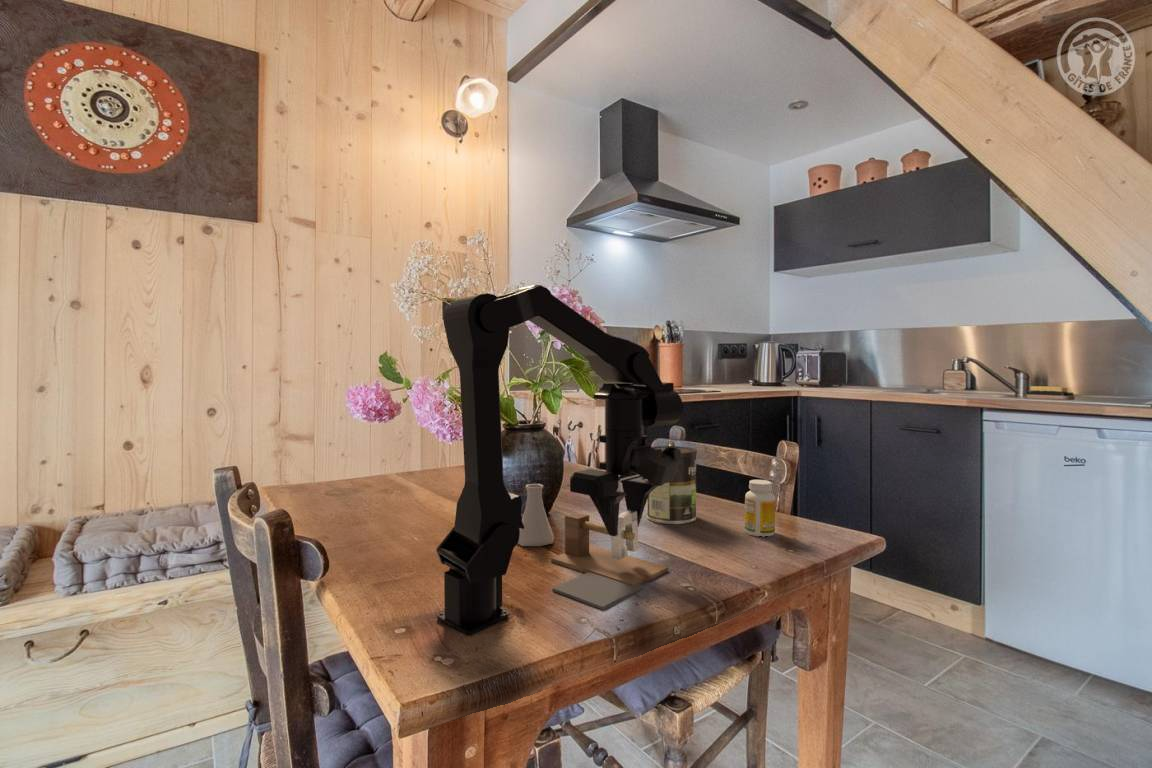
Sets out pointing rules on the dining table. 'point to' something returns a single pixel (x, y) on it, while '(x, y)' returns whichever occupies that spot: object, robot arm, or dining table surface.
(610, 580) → the slate coaster
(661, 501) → the coffee can
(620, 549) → the slotted rectangular block
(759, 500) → the supplement bottle
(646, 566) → the link stand
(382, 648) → the dining table surface
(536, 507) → the flask
